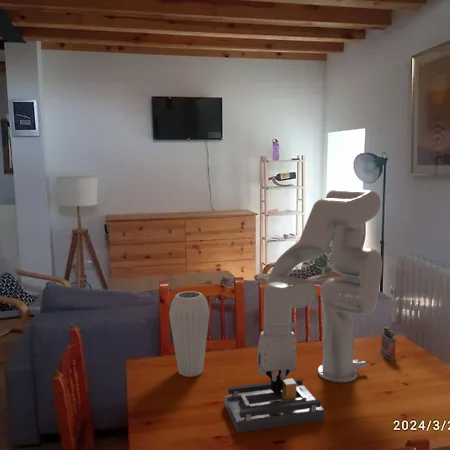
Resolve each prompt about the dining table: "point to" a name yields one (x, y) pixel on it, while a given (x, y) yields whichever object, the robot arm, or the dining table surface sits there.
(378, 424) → the dining table surface
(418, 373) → the dining table surface
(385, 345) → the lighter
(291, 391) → the block
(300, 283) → the robot arm
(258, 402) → the panel
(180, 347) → the vase
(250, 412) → the pair of grey rails
